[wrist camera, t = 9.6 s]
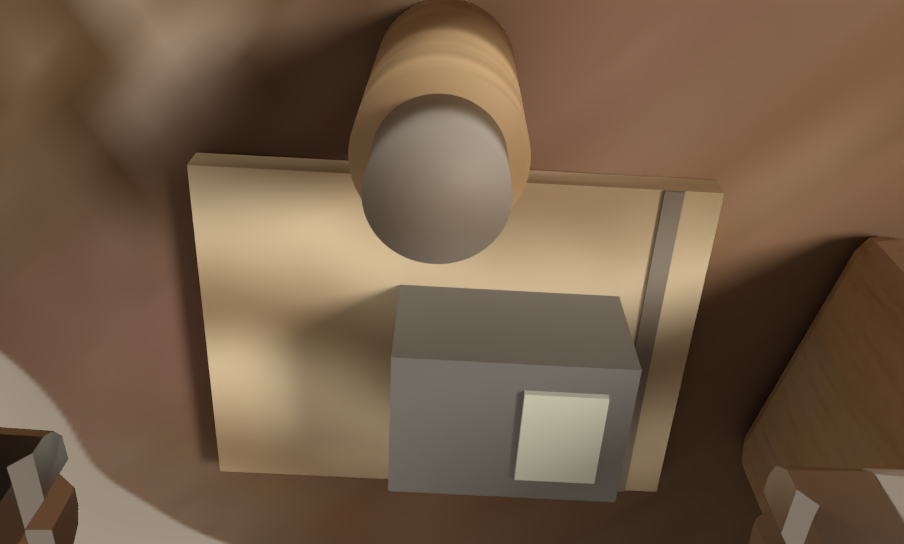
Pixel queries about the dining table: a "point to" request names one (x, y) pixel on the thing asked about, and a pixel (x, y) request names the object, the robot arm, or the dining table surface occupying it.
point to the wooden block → (841, 379)
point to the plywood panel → (383, 271)
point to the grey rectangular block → (510, 393)
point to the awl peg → (440, 134)
